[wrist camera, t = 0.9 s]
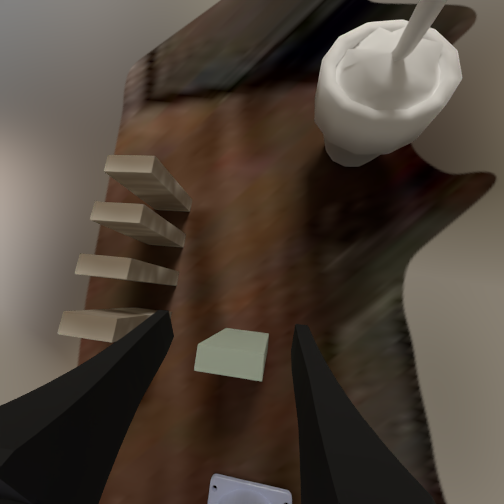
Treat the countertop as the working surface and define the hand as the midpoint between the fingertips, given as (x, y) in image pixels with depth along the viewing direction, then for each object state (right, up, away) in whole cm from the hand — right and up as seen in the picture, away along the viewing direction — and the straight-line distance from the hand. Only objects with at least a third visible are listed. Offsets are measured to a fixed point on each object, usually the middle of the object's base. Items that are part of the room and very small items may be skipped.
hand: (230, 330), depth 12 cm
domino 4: (-11, -4, +14) cm, 18 cm away
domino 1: (-10, +11, +17) cm, 22 cm away
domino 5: (+1, -6, +12) cm, 13 cm away
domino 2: (-10, +6, +16) cm, 20 cm away
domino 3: (-11, +1, +15) cm, 18 cm away
